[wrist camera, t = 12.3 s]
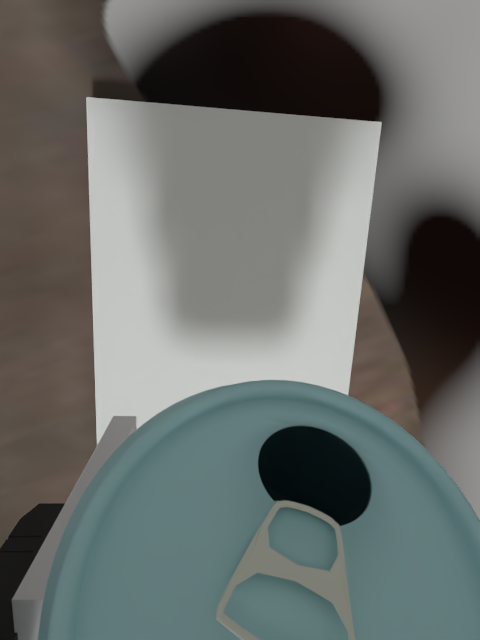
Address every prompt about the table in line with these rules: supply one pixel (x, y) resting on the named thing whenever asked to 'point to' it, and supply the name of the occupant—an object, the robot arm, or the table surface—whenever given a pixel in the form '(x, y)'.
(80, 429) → the table surface
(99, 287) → the mat
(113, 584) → the can
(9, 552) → the robot arm
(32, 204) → the table surface
